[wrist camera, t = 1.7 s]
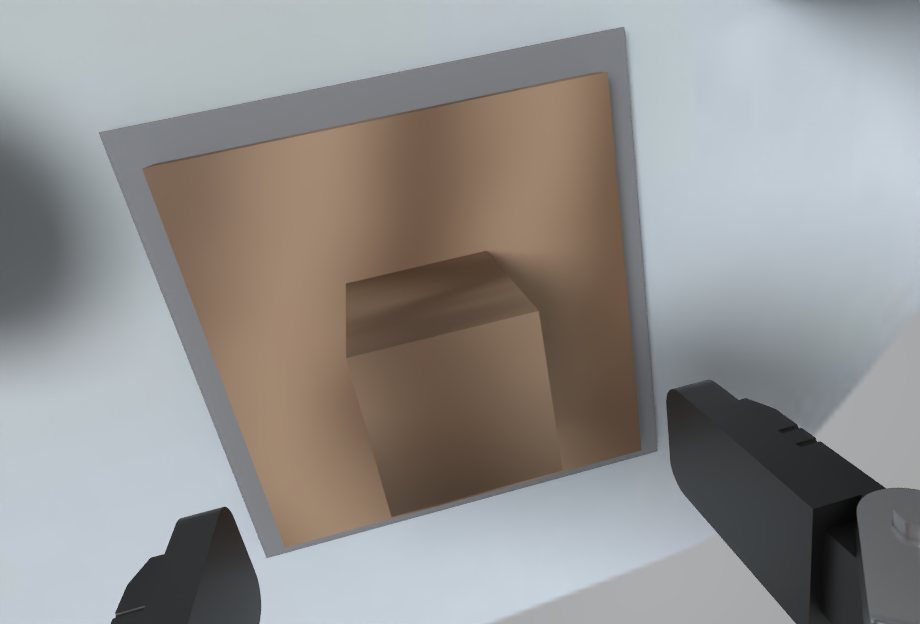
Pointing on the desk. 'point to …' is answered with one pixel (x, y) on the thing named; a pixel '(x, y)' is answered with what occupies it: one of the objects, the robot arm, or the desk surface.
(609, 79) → the mat
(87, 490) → the desk surface
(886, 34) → the desk surface
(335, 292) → the lid
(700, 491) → the robot arm
